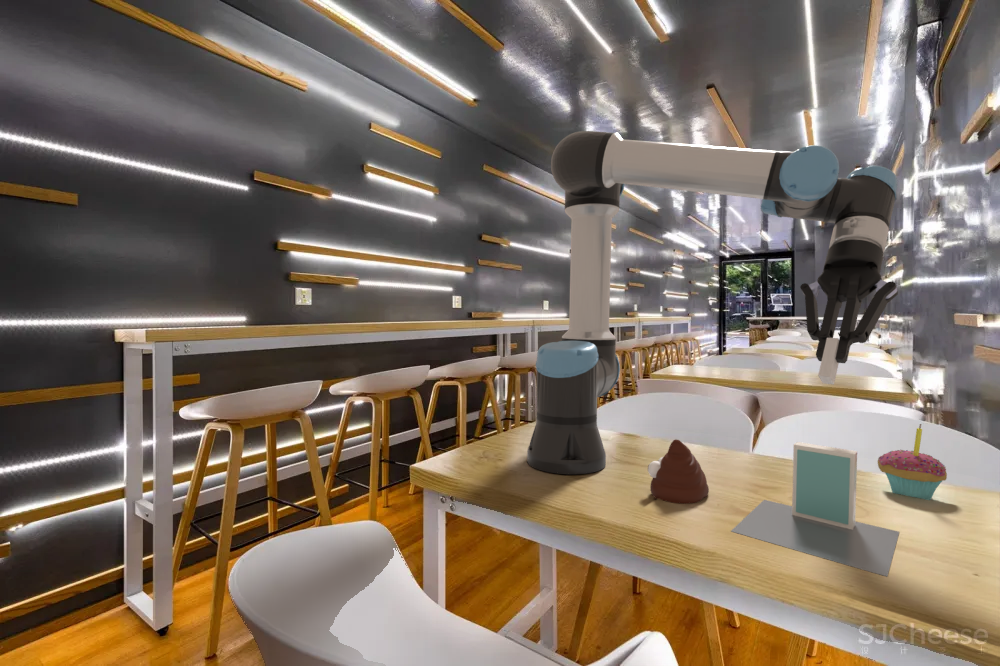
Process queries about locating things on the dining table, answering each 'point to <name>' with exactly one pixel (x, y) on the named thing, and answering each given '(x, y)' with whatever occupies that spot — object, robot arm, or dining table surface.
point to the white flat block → (824, 484)
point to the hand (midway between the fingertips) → (826, 379)
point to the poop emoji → (678, 476)
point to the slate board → (822, 537)
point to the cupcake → (912, 471)
